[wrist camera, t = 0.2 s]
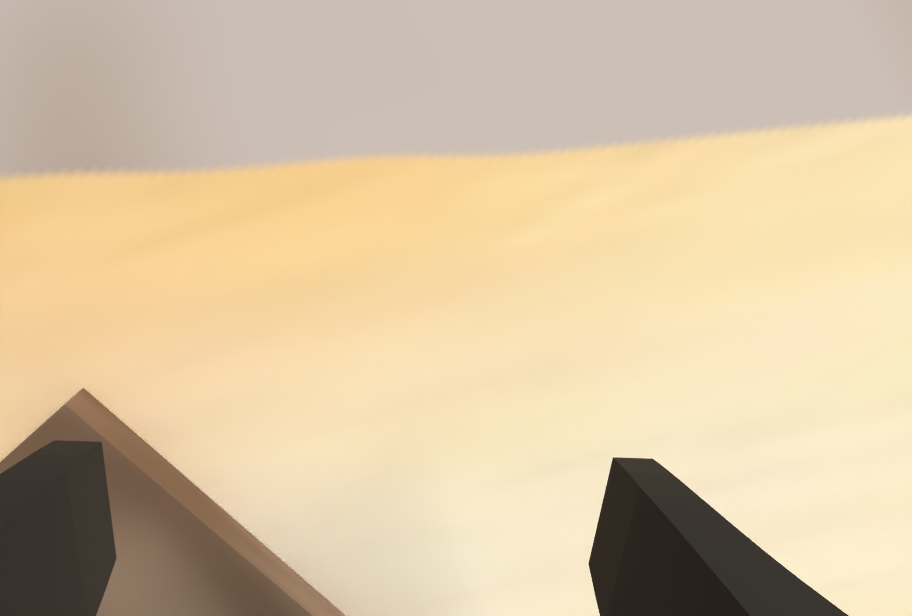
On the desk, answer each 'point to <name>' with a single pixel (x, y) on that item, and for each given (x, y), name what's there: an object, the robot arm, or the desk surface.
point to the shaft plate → (173, 533)
